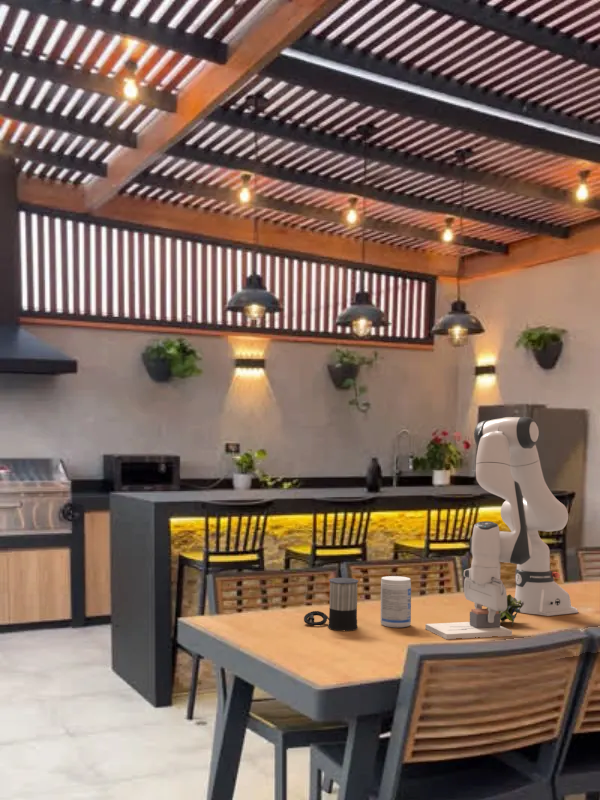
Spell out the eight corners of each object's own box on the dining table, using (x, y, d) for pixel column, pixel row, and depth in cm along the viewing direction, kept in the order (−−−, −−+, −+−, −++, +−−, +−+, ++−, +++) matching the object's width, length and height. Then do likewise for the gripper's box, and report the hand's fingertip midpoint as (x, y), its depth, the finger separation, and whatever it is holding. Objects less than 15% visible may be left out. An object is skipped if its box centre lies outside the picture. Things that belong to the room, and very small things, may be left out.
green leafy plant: (502, 638, 273) (518, 606, 277) (520, 639, 263) (536, 606, 267) (475, 619, 272) (491, 587, 276) (492, 619, 262) (508, 586, 266)
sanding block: (493, 623, 262) (493, 608, 262) (500, 627, 257) (500, 611, 258) (469, 624, 260) (469, 609, 260) (476, 627, 255) (476, 612, 256)
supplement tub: (415, 628, 261) (415, 580, 262) (386, 628, 259) (387, 580, 259) (404, 621, 270) (405, 575, 271) (376, 622, 268) (377, 575, 269)
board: (488, 625, 267) (488, 620, 267) (512, 635, 253) (512, 630, 253) (425, 628, 260) (425, 623, 260) (446, 639, 247) (446, 634, 247)
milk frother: (361, 631, 255) (362, 582, 256) (310, 632, 252) (311, 582, 253) (349, 621, 269) (350, 574, 270) (301, 622, 266) (302, 575, 267)
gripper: (512, 580, 250) (512, 627, 250) (478, 569, 270) (477, 613, 269) (494, 580, 248) (493, 628, 248) (460, 570, 268) (460, 613, 267)
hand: (485, 620), depth 259 cm, fingers closed on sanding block, 5 cm apart
